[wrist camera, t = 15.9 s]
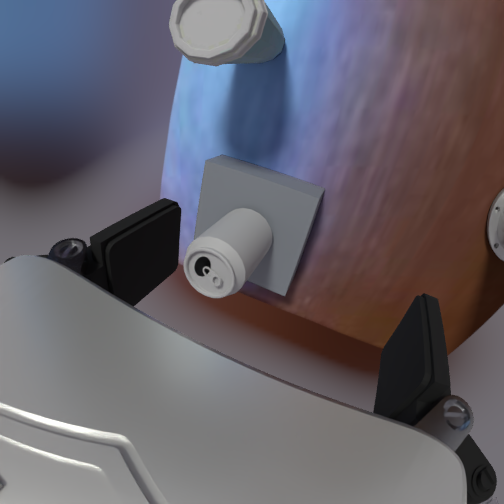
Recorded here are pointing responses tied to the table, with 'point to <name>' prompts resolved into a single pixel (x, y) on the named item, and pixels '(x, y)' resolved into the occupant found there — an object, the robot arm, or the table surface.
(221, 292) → the can
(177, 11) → the disposable coffee cup
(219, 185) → the grey block
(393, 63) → the table surface
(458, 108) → the table surface
